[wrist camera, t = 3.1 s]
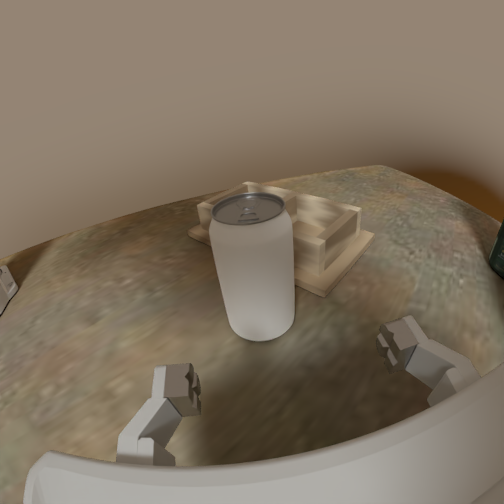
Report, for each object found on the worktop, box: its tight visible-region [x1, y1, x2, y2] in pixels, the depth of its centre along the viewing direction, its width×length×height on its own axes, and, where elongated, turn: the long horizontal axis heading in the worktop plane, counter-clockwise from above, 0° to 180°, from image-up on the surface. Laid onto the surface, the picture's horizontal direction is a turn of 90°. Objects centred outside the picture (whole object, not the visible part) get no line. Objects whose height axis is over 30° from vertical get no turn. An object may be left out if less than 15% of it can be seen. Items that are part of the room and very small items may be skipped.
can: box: [209, 192, 295, 341], centre depth 24 cm, size 6×6×12 cm
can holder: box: [187, 182, 375, 298], centre depth 38 cm, size 24×14×5 cm, turn 47°
